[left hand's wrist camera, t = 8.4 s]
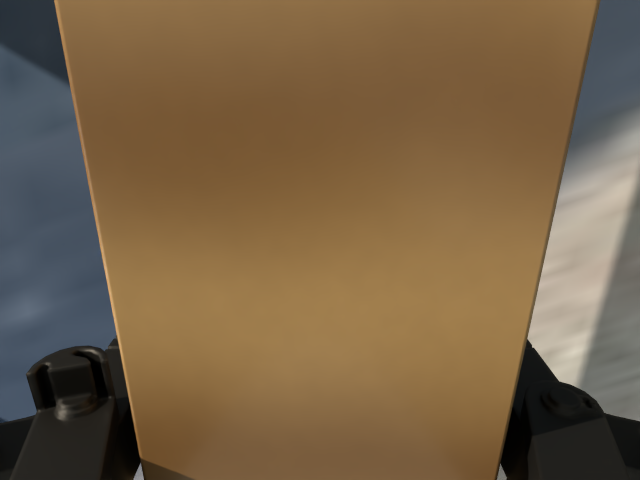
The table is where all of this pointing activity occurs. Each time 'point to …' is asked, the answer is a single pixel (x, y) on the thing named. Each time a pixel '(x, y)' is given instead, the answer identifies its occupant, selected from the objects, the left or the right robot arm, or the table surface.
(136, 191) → the post
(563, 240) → the table surface
